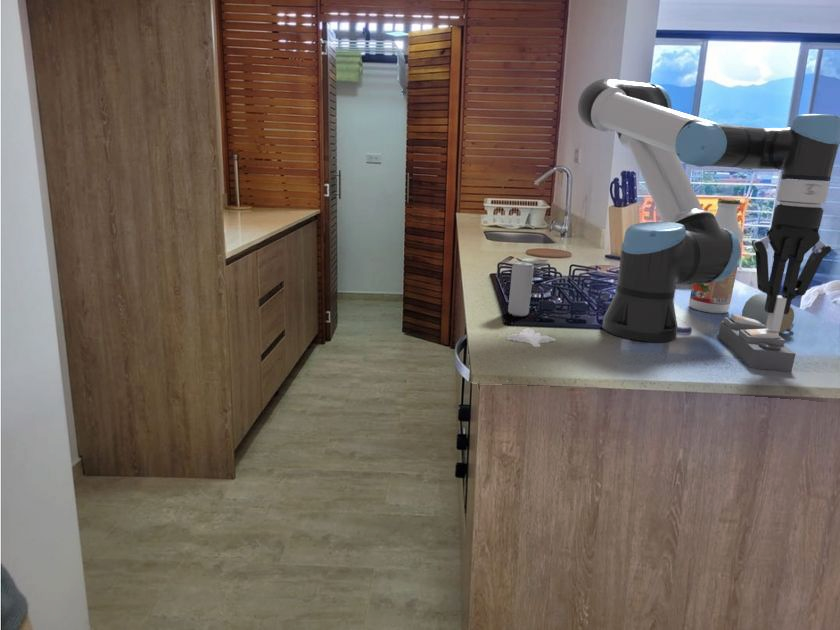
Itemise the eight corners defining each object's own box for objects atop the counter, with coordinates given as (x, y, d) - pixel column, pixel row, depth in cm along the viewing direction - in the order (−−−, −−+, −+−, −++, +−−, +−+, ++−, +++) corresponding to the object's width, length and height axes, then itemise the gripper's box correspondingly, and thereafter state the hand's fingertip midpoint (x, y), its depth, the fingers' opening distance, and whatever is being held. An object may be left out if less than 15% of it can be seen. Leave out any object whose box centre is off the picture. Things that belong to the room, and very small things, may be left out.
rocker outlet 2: (750, 339, 111) (751, 334, 111) (745, 334, 114) (745, 329, 114) (778, 337, 110) (778, 332, 110) (772, 333, 113) (772, 327, 113)
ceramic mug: (770, 336, 128) (778, 302, 126) (738, 326, 135) (745, 294, 133) (802, 334, 132) (810, 301, 130) (769, 324, 139) (776, 292, 137)
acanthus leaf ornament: (506, 342, 116) (507, 333, 116) (521, 335, 121) (522, 326, 121) (540, 350, 112) (541, 341, 111) (555, 342, 117) (556, 333, 117)
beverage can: (505, 314, 134) (510, 263, 131) (510, 310, 138) (515, 260, 135) (526, 318, 132) (531, 266, 129) (530, 313, 137) (536, 262, 133)
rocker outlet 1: (735, 322, 120) (737, 317, 120) (730, 318, 123) (732, 313, 123) (758, 328, 119) (761, 323, 119) (753, 324, 122) (755, 319, 122)
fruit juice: (728, 316, 144) (752, 201, 136) (687, 310, 148) (707, 198, 140) (728, 308, 152) (750, 199, 145) (689, 302, 156) (708, 196, 149)
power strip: (750, 367, 107) (755, 343, 106) (717, 336, 126) (721, 315, 125) (791, 371, 106) (797, 347, 105) (752, 339, 125) (756, 319, 124)
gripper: (768, 203, 103) (742, 331, 109) (850, 208, 100) (818, 338, 107) (753, 201, 110) (729, 321, 116) (829, 205, 108) (800, 327, 114)
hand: (772, 329), depth 111 cm, fingers closed
